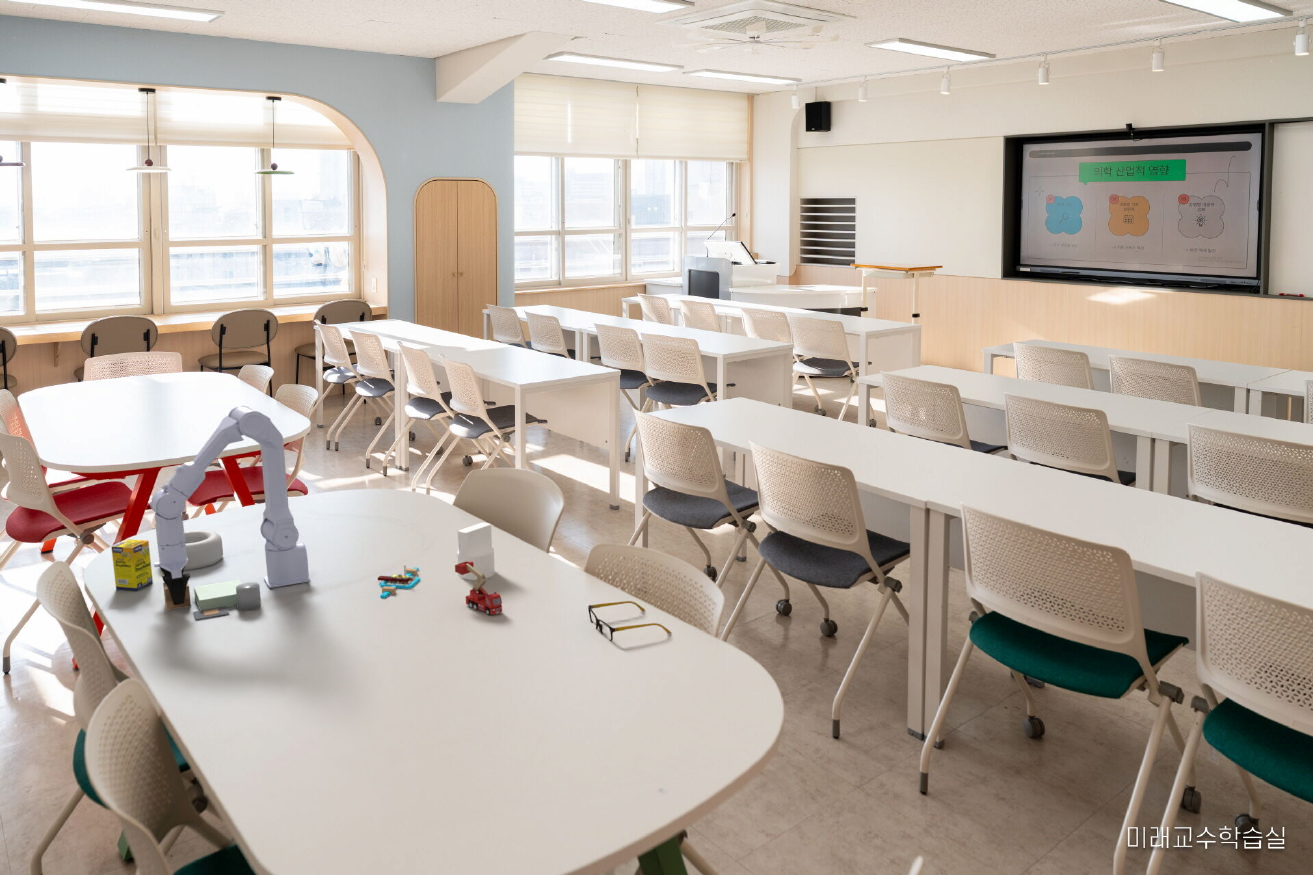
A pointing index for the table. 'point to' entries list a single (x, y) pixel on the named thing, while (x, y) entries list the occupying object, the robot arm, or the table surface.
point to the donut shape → (202, 548)
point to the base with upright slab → (476, 549)
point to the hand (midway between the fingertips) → (177, 598)
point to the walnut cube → (170, 603)
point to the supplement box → (132, 564)
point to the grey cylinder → (248, 596)
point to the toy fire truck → (480, 591)
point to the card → (211, 613)
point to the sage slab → (216, 595)
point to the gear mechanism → (398, 581)
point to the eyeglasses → (618, 627)
